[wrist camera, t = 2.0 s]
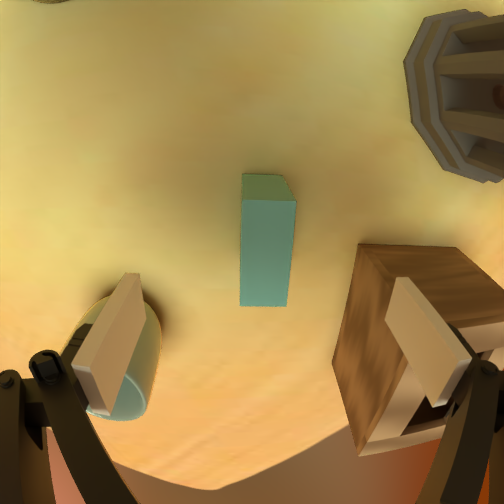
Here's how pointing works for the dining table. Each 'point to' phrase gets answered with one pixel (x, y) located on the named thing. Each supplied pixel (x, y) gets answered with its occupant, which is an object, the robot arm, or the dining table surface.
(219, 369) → the dining table surface
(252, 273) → the block
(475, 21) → the lantern
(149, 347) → the cup
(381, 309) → the coin box
